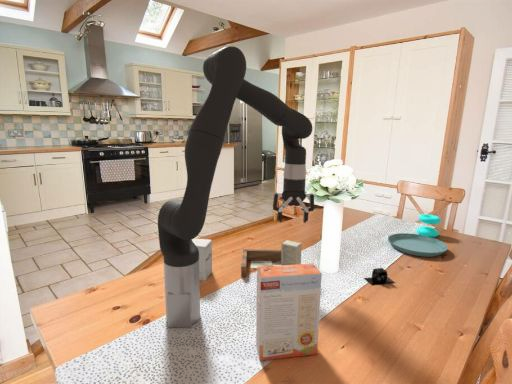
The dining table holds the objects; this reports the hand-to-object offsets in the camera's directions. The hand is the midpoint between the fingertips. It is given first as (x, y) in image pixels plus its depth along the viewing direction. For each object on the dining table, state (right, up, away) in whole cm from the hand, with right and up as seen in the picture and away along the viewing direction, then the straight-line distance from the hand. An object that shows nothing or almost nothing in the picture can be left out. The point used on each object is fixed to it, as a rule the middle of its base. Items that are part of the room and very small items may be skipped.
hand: (292, 222), depth 107 cm
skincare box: (0, -20, +4) cm, 20 cm away
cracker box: (-6, -28, -34) cm, 44 cm away
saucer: (+61, -16, +32) cm, 70 cm away
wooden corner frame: (-8, -18, +9) cm, 22 cm away
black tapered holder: (+31, -22, +1) cm, 38 cm away
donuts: (+77, -12, +51) cm, 92 cm away
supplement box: (-33, -20, +2) cm, 39 cm away
